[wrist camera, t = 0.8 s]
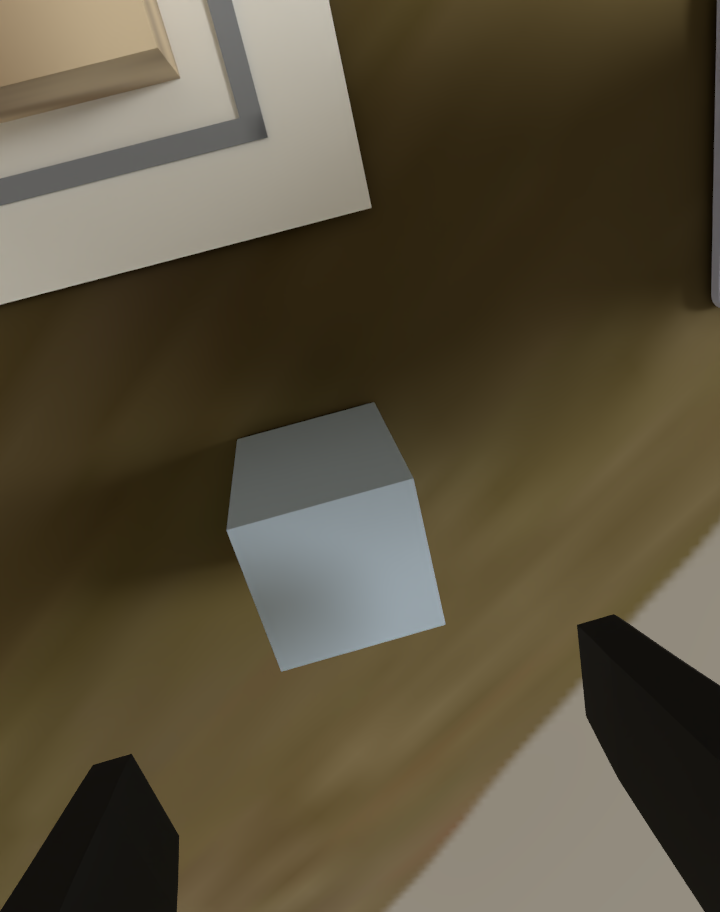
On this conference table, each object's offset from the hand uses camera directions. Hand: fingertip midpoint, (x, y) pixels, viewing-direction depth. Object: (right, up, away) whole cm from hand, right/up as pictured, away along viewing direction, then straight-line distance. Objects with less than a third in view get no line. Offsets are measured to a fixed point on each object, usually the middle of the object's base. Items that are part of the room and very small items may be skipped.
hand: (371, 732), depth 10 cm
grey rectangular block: (-1, +4, +8) cm, 9 cm away
